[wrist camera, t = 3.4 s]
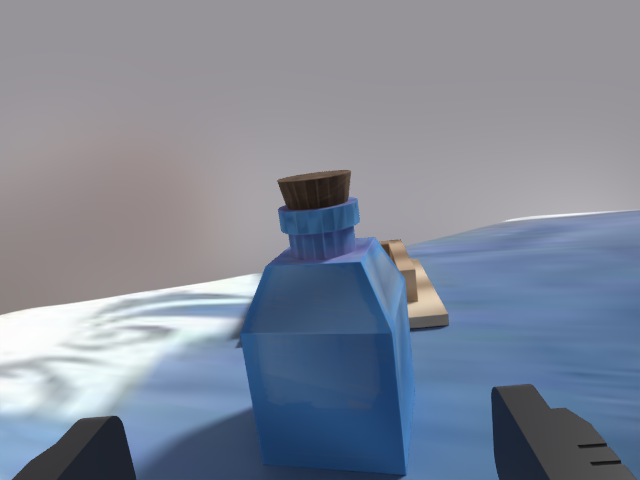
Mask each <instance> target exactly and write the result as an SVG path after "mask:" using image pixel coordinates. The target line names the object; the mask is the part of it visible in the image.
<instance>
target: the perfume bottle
mask: <svg viewBox="0 0 640 480" xmlns="http://www.w3.org/2000/svg"><path fill="white" fill-rule="evenodd" d="M350 176H351V171H349V170H338V171H328V172H327V171H326V172H317V173H309V174H303V175H297V176H291V177H286V178H283V179H279V180H278V184H279V187H280V190H281V192H282V195H283V198H284V201H285V203H286V205H285V206H282V207H280V208H279V209H278V212H279V219H280V226H281V231H282V232H283V233H286V234H288V235H289V241H290V247H289V248H287V249H286V250H285V251H284V252H283V253H281V254H280V255H279V256H278V257H277V258H275V259H274V260H273V261H272V262H271V263H269V264H268V265H267V266H266V267H265V269H264V272H263V275H262V277H261V280H260V283H259V285H258V288H257V290H256V293H255V296H254V298H253V301H252V304H251V306H250V309H249V312H248V314H247V317H246V319H245V322H244V325H243V327H242V330H241V333H240V337H241V343H242V348H243V354H244V359H245V365H246V371H247V376H248V382H249V388H250V393H251V399H252V404H253V410H254V416H255V421H256V427H257V433H258V438H259V444H260V449H261V455H262V461H263V464H265V465H278V466H292V467H305V468H318V469H331V470H344V471H357V472H371V473H384V474H397V475H406V474H407V465H408V455H409V445H410V435H411V425H412V416H413V406H414V396H415V383H414V372H413V361H412V350H411V339H410V328H409V317H408V306H407V295H406V284H405V278H404V277H403V275H402V274H401V272H400V271H399V270H398V268H397V267H396V266H395V264H394V263H393V261H392V260H391V259H390V257H389V256H388V255H387V253H386V252H385V250H384V249H383V248H382V246H381V245H380V243H379V242H378V241H377V240H376V238H375V237H370V238H355V233H354V225H356V224H358V223H359V222H360V218H359V209H358V200H357V198H354V197H349V186H350Z"/></svg>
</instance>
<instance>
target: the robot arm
mask: <svg viewBox="0 0 640 480" xmlns="http://www.w3.org/2000/svg"><path fill="white" fill-rule="evenodd" d="M491 401H492V421H493V441H494V457H495V464H496V469H497V473H498V477H499V480H637V479H636V478H635V477H634V476H633V474H632V473H631V472H630V471H629V470H628V468H627V467H626V466H625V465H622V464H621V460H620V459H619V458H618V456H617V455H616V454H615V453H614V452H613V450H612V449H611V448H610V447H607V444H606V442H605V441H604V440H603V438H602V437H601V436H600V435H599V434H598V432H597V431H596V430H595V429H594V428H593V426H592V425H591V424H590V423H589V422H587V421H585V420H584V419H582V418H581V417H579V416H577V415H576V414H574V413H573V412H571V411H570V410H568V409H566V408H556V409H550V407H549V406H548V405H547V403H546V402H545V401H544V399H543V398H542V397H541V395H540V394H539V392H538V391H537V390H536V388H535V387H534V386H533V385H531V384H525V385H512V386H500V387H493V388H492V393H491ZM12 480H136V475H135V471H134V467H133V463H132V459H131V454H130V450H129V446H128V442H127V438H126V434H125V430H124V426H123V423H122V421H121V420H120V418H119V417H117V416H106V417H93V418H82V419H80V420H78V421H77V422H76V423H75V424H74V425H73V426H72V427H71V428H70V429H69V430H68V431H67V432H66V433H65V434H64V435H63V437H62V438H61V439H60V440H59V441H58V442H57V443H56V444H55V445H53V446H52V447H50V448H49V449H47V450H46V451H44V452H43V453H41V454H40V455H39V456H37V457H36V458H34V459H33V460H31V461H30V462H29V463H28V464H27V465H26V466H25V467H24V468H23V469H22V470H21V471H20V472H19V473H18V474H17V475H16V476H15V477H14V478H13V479H12Z"/></svg>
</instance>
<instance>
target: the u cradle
mask: <svg viewBox="0 0 640 480" xmlns="http://www.w3.org/2000/svg"><path fill="white" fill-rule="evenodd" d="M379 243H380V245H381V246H382V248H383V249H384V250H385V252H386V253H387V255H388V256H389V257H390V259H391V260H392V261H393V263H394V264H395V266H396V267H397V268H398V270H399V271H400V272H401V274H402V275H403V277H404V278H405V284H406V295H407V306H408V317H409V328H410V329H411V328H421V327H432V326H443V325H449V319H448V313H447V311H446V309H445V307H444V306H443V304H442V302H441V300H440V298H439V297H438V295H437V293H436V291H435V289H434V288H433V286H432V284H431V282H430V280H429V279H428V277H427V275H426V273H425V271H424V270H423V268H422V266H421V264H420V262H419V261H418V259H410V257H409V255H408V253H407V251H406V249H405V247H404V245H403V243H402V241H401V240H391V241H381V242H379Z"/></svg>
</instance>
